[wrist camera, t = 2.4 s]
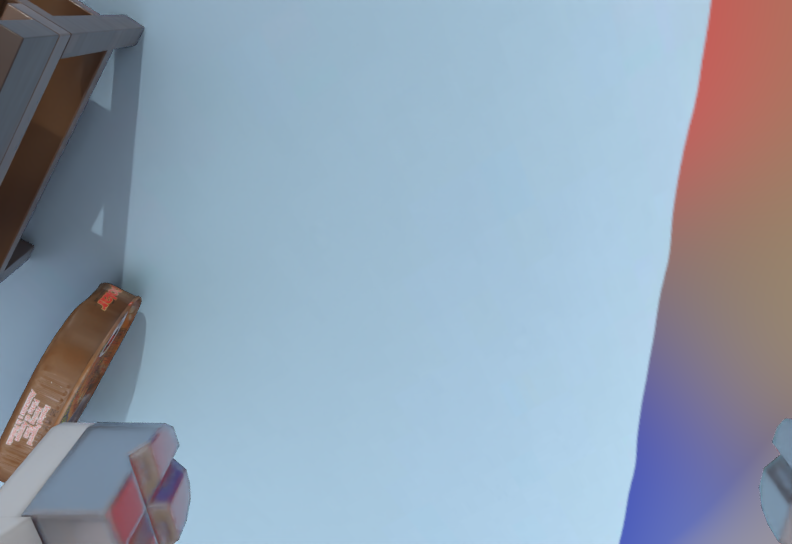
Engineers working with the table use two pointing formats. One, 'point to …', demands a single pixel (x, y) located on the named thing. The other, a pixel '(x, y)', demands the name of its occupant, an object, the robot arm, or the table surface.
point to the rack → (45, 99)
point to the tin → (68, 372)
